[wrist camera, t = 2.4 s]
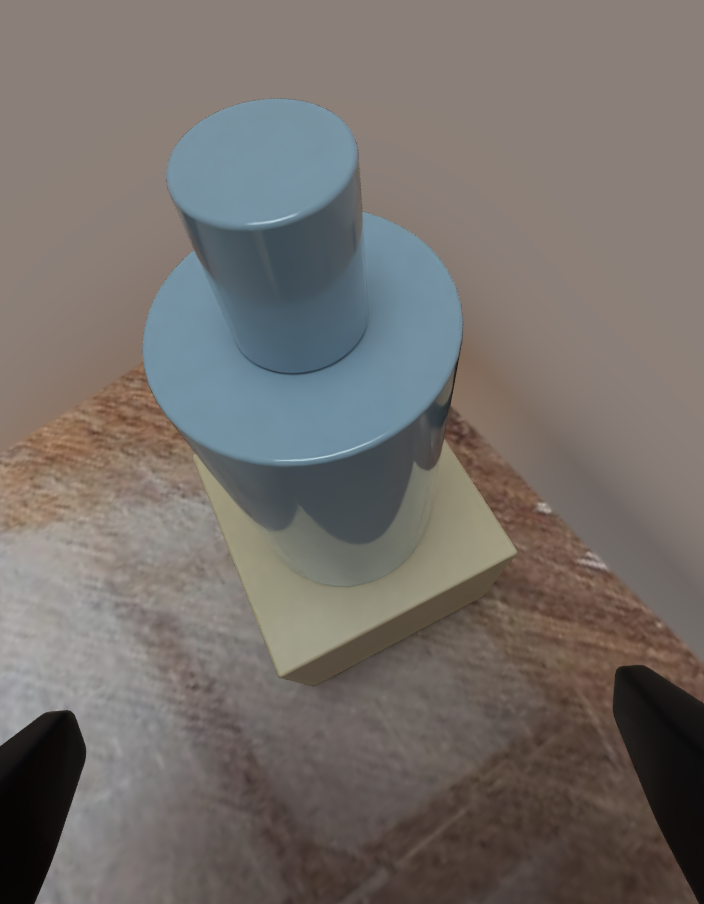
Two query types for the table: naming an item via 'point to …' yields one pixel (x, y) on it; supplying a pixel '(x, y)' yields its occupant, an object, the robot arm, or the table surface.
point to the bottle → (304, 341)
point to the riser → (370, 604)
